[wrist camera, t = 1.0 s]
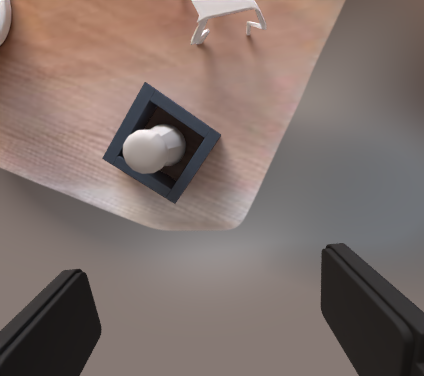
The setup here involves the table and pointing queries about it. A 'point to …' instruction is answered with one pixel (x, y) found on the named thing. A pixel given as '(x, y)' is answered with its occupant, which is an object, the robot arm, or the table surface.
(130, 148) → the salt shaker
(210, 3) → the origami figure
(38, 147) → the table surface
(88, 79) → the table surface
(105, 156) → the holder
